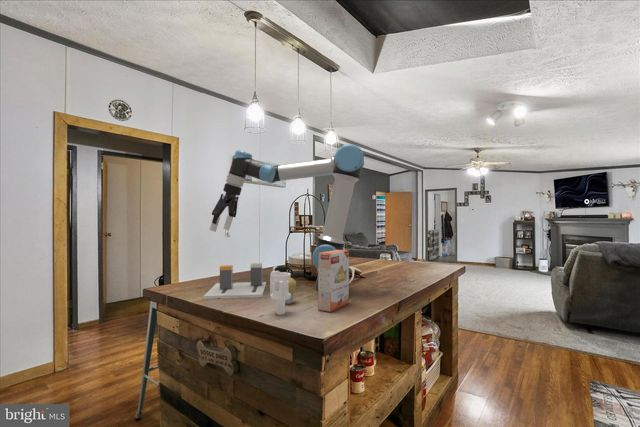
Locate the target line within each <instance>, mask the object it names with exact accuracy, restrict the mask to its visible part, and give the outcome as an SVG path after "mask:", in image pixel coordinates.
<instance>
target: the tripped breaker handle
mask: <svg viewBox="0 0 640 427" xmlns="http://www.w3.org/2000/svg"><path fill="white" fill-rule="evenodd" d="M233 271H234V270H233V265H232V264H230V265H227V264H225V265H224V264H223V265H220V266H219V283H220V289H232V287H233V283H234V282H233V280H234V279H233V277H234V275H233V273H234V272H233Z"/></svg>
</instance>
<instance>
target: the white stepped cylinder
mask: <svg viewBox="0 0 640 427" xmlns="http://www.w3.org/2000/svg"><path fill="white" fill-rule="evenodd" d="M269 276H270V278H269V279H271V282H273V293H272V294H271V295H270V294H269V296H270V297H269V298H270V299H271V300H273V301H275V302H276V303H275V304H276V307H275V308H276V311H275V313H276V315H279V316H280V315H281V316H282V315H283V316H284V315H285V314H286V304H285V300H287V299H290V298H291V294H290V293H289V290H288V281H287V278H292V277H291V276H292V274H291V273H290V272H280V271H274V272H273V271H271V272H270V275H269Z"/></svg>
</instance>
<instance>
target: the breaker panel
mask: <svg viewBox="0 0 640 427" xmlns="http://www.w3.org/2000/svg"><path fill="white" fill-rule="evenodd" d="M266 285H267V281H262V285H259V286H251V281H249V282H247V281H246V282H233V287H232V289H220V282H216V283H215V284H214V285H213V286H212V287H211V288H210V289H209V290H208V291H207V292H206V293H205V294H203V296H202V297H203V298H202V299H203V300H214V299H217V298H221V299H246V298H249V299H251V298H253V299H254V298H263V295H264V293H265V289H266ZM217 300H218V299H217Z"/></svg>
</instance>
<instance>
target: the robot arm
mask: <svg viewBox="0 0 640 427" xmlns="http://www.w3.org/2000/svg"><path fill="white" fill-rule="evenodd" d="M364 164H365V155H364V152H363V150H362V149H361V148H360V147H359V146H358V145H356V144H354V143H345V144H343V145H341V146H339V147H338V149H337V150H336V151H335V154H334V155H332V156H331V157H330V158H323V159H314V160H308V161H300V162H293V163H287V164H286V163H285V164H284V163H283V164H277V165H272V164H269V163H266V162H262V161H259V160H255V159H253V155H252V154H251V153H249V152H246V151H244V150H240V149H237V150H236V151H235V152H234V155H233V157H232V160H231V165H230V168H229V171H228V174H227V175H226V181H225V182H226V183H224V186H223V192H224V193H221V195H220V197H219V199H218V201H217V202H216V204H215V205H214V208H213V210H212V212H211V215H212V216H213V217H212V220H211V223H210V228H209V231H211V232H214V233H215V232H216V233H217V229H218V226H219V223H220V219H221V215H222V214H223V213H224V211H225V209H226V208H228V209H227V211H228V214H227V216H226V219H225V222H224V225H223V230H225V231H230V228H231V225H232V222H233V220H234V218H237V217H236V216H237V211H238V202H239V198H240V195H241V192H242V188H243V187H244V183H245V180H246V177H247V176H248V177H251V178H254V179H257V180H259V181H260V180H261V181H262V182H265V183H266V182H267V183H268V184H273V183H277V182H282V181H289V180H291V181H292V180H297V179H298V180H299V179H308V178H314V177H315V178H316V177H324V176H331V175H332V176H333V177H334V181H333V184H332V185H333V187H332V191H331V193H330V194H331V195H330V199H329V204H328V207H327V211H326V212H327V213H326V217H325V221H324V226H323V230H322V234H320V235H319V236H318V237H317V241H316V245H315V249H314V250H313V253H312V257H311V258H312V263H313V265H314V267H315V268H316V269H317V270H318V259H319V253H321V252H327V251H333V250H345V241H344V239H343V236H344V231H345V229H346V228H345V227H346V224H347V219H348V214H349V209H350V205H351V202H352V197H353V192H354V187H355V184H356V183H357V182H358V181H360V178H361V173H362V169H363V168H364ZM314 285H315V286H314V289H315V290H316V291H318V276H317V278H316V281H315V284H314Z"/></svg>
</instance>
